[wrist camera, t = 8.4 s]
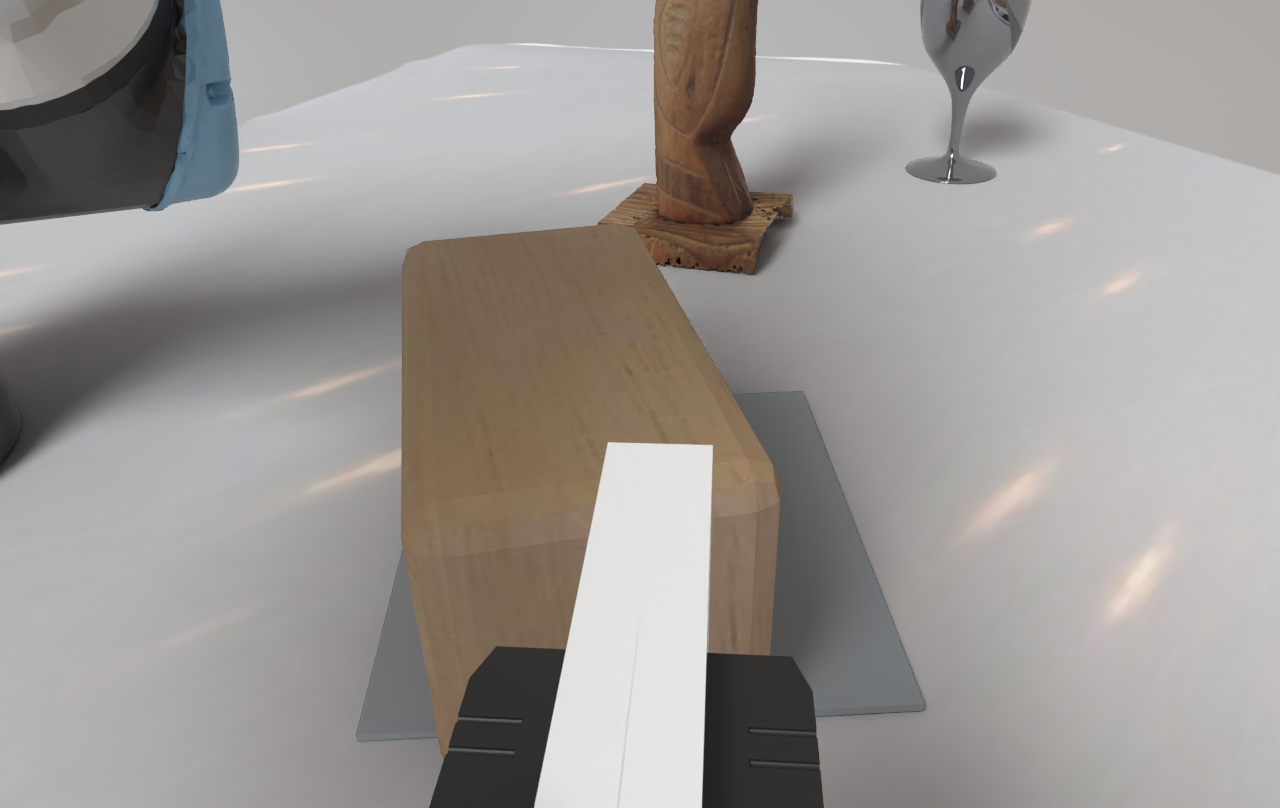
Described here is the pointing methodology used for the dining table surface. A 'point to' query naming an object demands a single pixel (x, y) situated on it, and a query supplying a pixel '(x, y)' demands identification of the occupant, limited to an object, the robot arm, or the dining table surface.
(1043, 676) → the dining table surface
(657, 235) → the bird sculpture
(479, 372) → the wooden block
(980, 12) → the wine glass
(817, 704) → the mat
